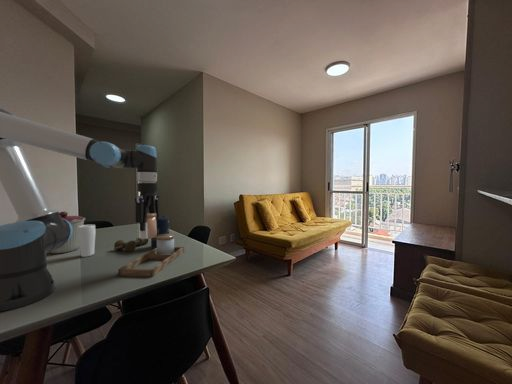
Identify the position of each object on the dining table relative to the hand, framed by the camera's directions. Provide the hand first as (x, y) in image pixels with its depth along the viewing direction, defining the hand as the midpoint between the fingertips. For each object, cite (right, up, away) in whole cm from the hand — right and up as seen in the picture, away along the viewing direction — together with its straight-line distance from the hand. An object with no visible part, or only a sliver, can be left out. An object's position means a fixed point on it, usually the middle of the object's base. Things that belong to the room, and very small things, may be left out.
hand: (148, 236), depth 88 cm
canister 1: (-57, -13, +22) cm, 62 cm away
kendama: (-23, -13, +25) cm, 37 cm away
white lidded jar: (+1, -13, +14) cm, 19 cm away
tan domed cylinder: (0, 0, 0) cm, 0 cm away
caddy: (0, -13, +6) cm, 15 cm away
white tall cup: (-38, -13, +14) cm, 43 cm away
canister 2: (-8, -12, +28) cm, 32 cm away
